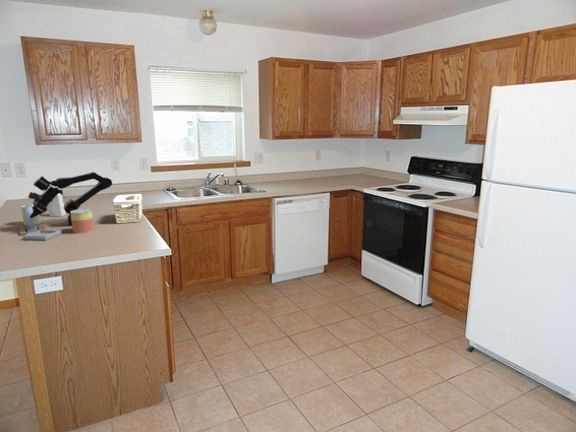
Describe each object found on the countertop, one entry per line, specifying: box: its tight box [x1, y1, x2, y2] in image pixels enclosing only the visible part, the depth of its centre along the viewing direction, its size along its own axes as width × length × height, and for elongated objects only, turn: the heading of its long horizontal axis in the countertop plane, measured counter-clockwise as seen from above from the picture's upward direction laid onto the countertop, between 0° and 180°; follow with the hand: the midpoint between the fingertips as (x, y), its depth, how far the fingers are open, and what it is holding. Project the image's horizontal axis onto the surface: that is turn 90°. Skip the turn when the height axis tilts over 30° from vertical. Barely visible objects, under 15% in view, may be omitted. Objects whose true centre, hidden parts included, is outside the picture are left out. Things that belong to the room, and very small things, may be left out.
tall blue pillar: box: [25, 204, 39, 233], centre depth 232 cm, size 7×5×15 cm
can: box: [20, 203, 42, 226], centre depth 248 cm, size 9×9×12 cm
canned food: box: [70, 208, 95, 234], centre depth 231 cm, size 11×11×12 cm
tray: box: [22, 229, 63, 242], centre depth 220 cm, size 13×13×2 cm
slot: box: [18, 225, 46, 237], centre depth 232 cm, size 14×12×1 cm
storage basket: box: [112, 193, 143, 224], centre depth 258 cm, size 24×16×15 cm
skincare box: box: [47, 193, 67, 217], centre depth 269 cm, size 8×6×15 cm
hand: (29, 216), depth 232 cm, fingers open, 9 cm apart
